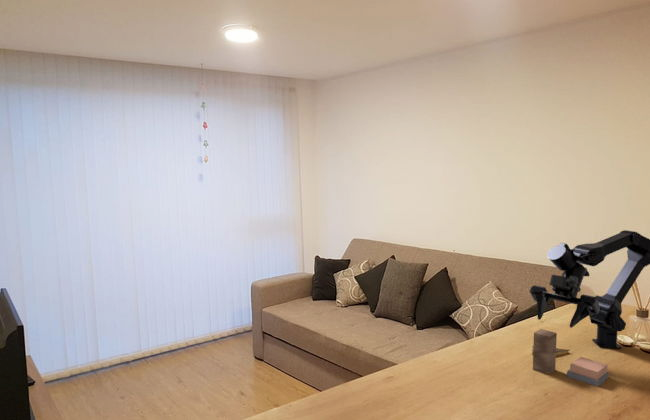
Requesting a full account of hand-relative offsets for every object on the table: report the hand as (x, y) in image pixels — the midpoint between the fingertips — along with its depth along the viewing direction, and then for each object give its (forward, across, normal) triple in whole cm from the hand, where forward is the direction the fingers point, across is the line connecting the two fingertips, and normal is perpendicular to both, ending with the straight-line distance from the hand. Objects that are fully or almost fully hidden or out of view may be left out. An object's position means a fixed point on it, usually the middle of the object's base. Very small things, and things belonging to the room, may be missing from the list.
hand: (554, 322), depth 139 cm
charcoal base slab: (+11, +10, +8) cm, 17 cm away
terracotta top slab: (+9, +10, +6) cm, 15 cm away
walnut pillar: (+13, 0, +5) cm, 14 cm away
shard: (+4, -5, +14) cm, 16 cm away
